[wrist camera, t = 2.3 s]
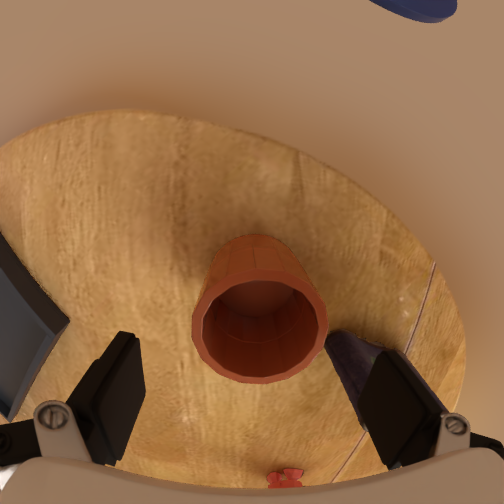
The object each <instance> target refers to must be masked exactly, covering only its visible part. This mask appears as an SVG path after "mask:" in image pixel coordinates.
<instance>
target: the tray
mask: <svg viewBox="0 0 504 504" xmlns="http://www.w3.org/2000/svg"><path fill="white" fill-rule="evenodd" d="M69 323H70V320H69V319H68V318H67V317H66V316H65V315H64V314H63V313H62V312H61V311H60V310H59V308H58V307H57V306H56V305H55V304H54V303H53V302H52V301H51V299H50V298H49V297H48V296H47V295H46V294H45V292H44V291H43V290H42V289H41V288H40V286H39V285H38V284H37V283H36V282H35V280H34V279H33V278H32V276H31V275H30V274H29V273H28V271H27V270H26V269H25V267H24V266H23V265H22V263H21V262H20V261H19V259H18V258H17V256H16V255H15V254H14V252H13V251H12V249H11V248H10V246H9V245H8V243H7V242H6V240H5V239H4V237H3V236H2V234H1V233H0V413H1V414H2V416H3V417H4V418H5V419H7V420H8V421H9V422H10V423H11V422H12V420H13V419H14V418H15V416H16V415H17V413H18V411H19V409H20V407H21V405H22V403H23V401H24V399H25V397H26V395H27V393H28V391H29V389H30V387H31V385H32V384H33V382H34V380H35V378H36V376H37V375H38V373H39V371H40V369H41V367H42V366H43V364H44V362H45V361H46V359H47V357H48V356H49V354H50V352H51V351H52V349H53V347H54V346H55V344H56V343H57V341H58V339H59V338H60V336H61V335H62V333H63V332H64V330H65V329H66V327H67V326H68V324H69Z"/></svg>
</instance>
